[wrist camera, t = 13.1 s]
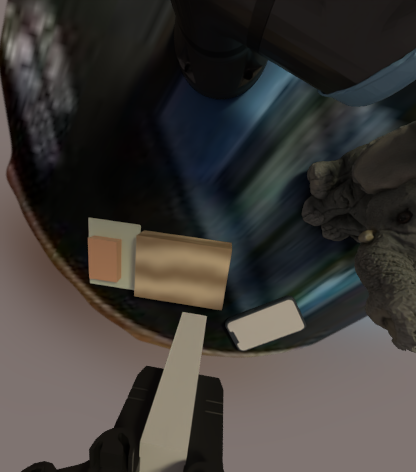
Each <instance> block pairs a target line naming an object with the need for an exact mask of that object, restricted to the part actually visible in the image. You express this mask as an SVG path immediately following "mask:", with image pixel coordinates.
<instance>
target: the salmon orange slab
mask: <svg viewBox="0 0 416 472" xmlns="http://www.w3.org/2000/svg"><path fill="white" fill-rule="evenodd" d="M121 248H122V239H116V238H109V237H102V236H95V235H94V236H91V237H89V238H88V256H89V278H90V279H97V280H104V281H110V282H118V281H119V280H120V279H121Z"/></svg>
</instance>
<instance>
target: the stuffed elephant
mask: <svg viewBox="0 0 416 472" xmlns="http://www.w3.org/2000/svg"><path fill="white" fill-rule="evenodd" d="M307 177H308V178H307V179H308V180H309V181H310V186H309V187H310V189H311V190H310V192H311V194H312V195H311V196H310V197H309V198H308V199H307V200H306V201H305V203H304V206H303V209H302V213H301V214H302V217H303V220H304V221H305V222H307V223H309V224H311V225H313V226H318V225H321V228H322V235H323V237H324V238H326V239H331V240H333V241H341V240H343V239H345V238H347V237H349V236H351V237H352V238H354V240H356V241H357V242H359V243H361V245H360V246H359V248H358V251H357V254H356V256H355V265H354V266H355V270H356V273H357V275H358V276H359V278H360V281H361V282H362V284H363V285H364V286H365V287H366V288H367V290H368V292H369V298H368V299H367V301H366V308H365V310H366V313H367V315H368V316H369V317H370V318H371V319H372V321H373V322H374V323H375V324H377V325H379V326H381V327H382V328H384V329H386V330H388V332H389V334H390V336H391V337H392V338H393V339H392V342H393V344H394V345H395V346H396V347H397V348H398V349H401V350H405V351H406V349H407V350H409V351H411V352H415V353H416V121H414V122H412V123H410V124H408V125H405V126H402V127H400V128H398V129H396V130H394V131H393V132H391V133H388V134H386V135H385V136H382V137H379V138H377V139H375V140H374V141H372V142H370V143H369V144H366V145H363V146H360V147H358V148H356V149H354V150H352V151H350V152H348V153H346V154H345V155H343V156H342V157H341V158H340V159H339V160H336V161H328V162H324V161H321V162H316V163H313V164H312V165H311V166H310V167H309V169H308V172H307Z"/></svg>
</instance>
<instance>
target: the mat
mask: <svg viewBox="0 0 416 472" xmlns="http://www.w3.org/2000/svg"><path fill="white" fill-rule="evenodd" d="M88 222H89V237H91V236H94V235H95V236H102V237H109V238H116V239H122V248H121V279H120V280H119V281H118V282H110V281H104V280H97V279H90V283H93V284H99V285H106V286H112V287H118V288H124V289H130V290H134V289H135V261H136V235H138V234H139V233H141V225H137V224H131V223H124V222H117V221H110V220H103V219H96V218H88Z"/></svg>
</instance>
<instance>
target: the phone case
mask: <svg viewBox="0 0 416 472" xmlns="http://www.w3.org/2000/svg"><path fill="white" fill-rule="evenodd" d="M225 327H226V329H227V330H228V332H229V334H230V336H231V338H232V339H233V341H234V343H235V345H236V347H237V348H238V350H240V351H246V350H249V349H252V348H254V347H257V346H260V345H263V344H266V343H268V342H271V341H274V340H277V339H280V338H282V337H285V336H288V335H291V334H293V333H296V332H299V331H302V330H304V329H305V327H306V323H305V321H304V319H303V317H302V314H301V312H300V310H299V308H298V306H297V303H296V301H295V299H294V298H293V297H292V296H285V297H282V298H279V299H277V300H274V301H271V302H269V303H266V304H264V305H261V306H258V307H256V308H253V309H250V310H248V311H245V312H243V313H240V314H238V315H235V316H233V317H230V318H228V319H227V320H226V321H225Z"/></svg>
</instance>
